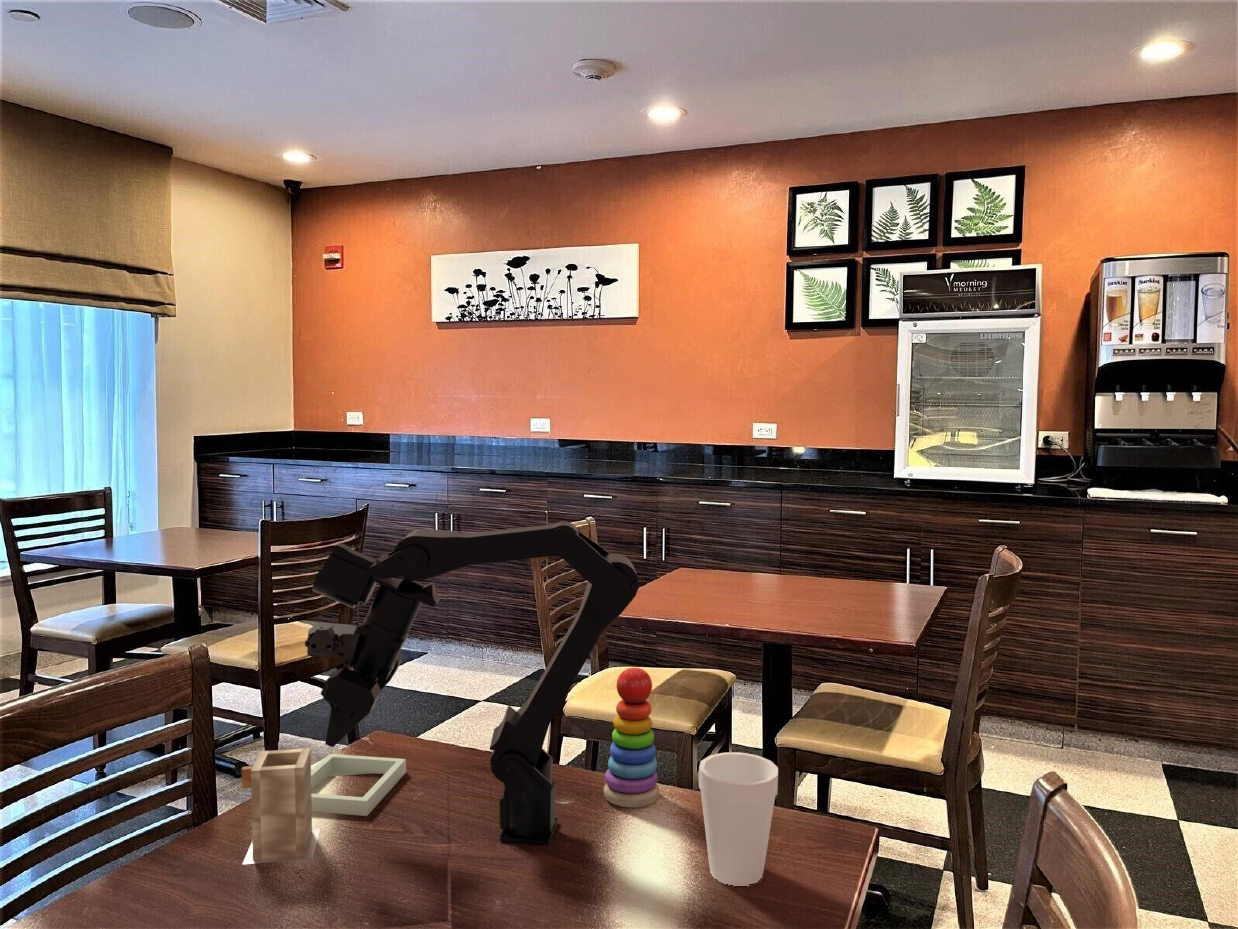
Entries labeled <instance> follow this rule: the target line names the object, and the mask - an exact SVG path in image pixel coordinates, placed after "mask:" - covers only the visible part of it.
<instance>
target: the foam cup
mask: <svg viewBox="0 0 1238 929" xmlns="http://www.w3.org/2000/svg"><path fill="white" fill-rule="evenodd" d="M778 783H779V767H778V766H777V765H776V764H775V763H774V762H773V761H772V760H770V759H767V758H765V757H762V756H760V755H758V754H751V753H745V752H720V753H716V754H711V755H708V756H707V757H705V758H703V759H702V760H700V762H699V767H698V788H699V790H700V795H701V797H700V798H701V805H702V813H703V822H704V831H705V839H706V850H707V857H708V866H709V869H710V870H709V873H710V875H711V874H712V875H711V876H712V878H713V877H714V878H713V879H714V880H715V879H717V880H718V881H717V880H716V881H717V882H719V883H720V884H722V883H723V885H726V884H728V885H727V886H730V885H733V886H732V887H734V886H747V887H750V886H749V884H753V883H757V882H758V881H759V880H760V879H761V878H762V879H763V874H764V870H765V864H766V857H767V852H768V845H769V838H770V833H771V826H772V820H773V815H774V814H773V813H774V808H775V807H774V806H775V800H776V796H777V795H778V789H779V788H778V787H779V786H778V785H779V784H778ZM762 879H761V880H762ZM761 880H760V881H761ZM760 881H759V882H760ZM759 882H758V883H759ZM758 883H757V884H758Z"/></svg>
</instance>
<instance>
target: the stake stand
mask: <svg viewBox="0 0 1238 929" xmlns="http://www.w3.org/2000/svg"><path fill="white" fill-rule="evenodd" d="M321 829H322V826H318V827H317V826H315V827H312V833H311V837H310V840H309V843H308V847H307V850H306V853H305V855H298V856H287V857H275V858H263V859H253V843H252V842H251V843H250V845H249V847H248V850H247V852H246V855H245V856H244V860H243V862H242V864H241V865H243V866H245V865H255V864H265V863H266V864H268V863H280V862H290V861H299V860H300V861H302V860H313V858H314V854H315V850H316V847H317V844H318V840H319V837H320V833H321V831H322V830H321Z"/></svg>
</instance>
